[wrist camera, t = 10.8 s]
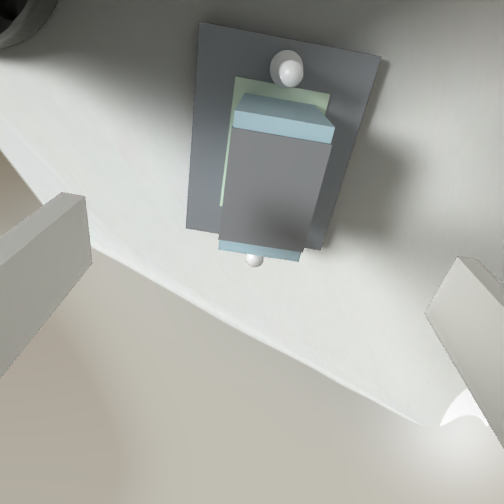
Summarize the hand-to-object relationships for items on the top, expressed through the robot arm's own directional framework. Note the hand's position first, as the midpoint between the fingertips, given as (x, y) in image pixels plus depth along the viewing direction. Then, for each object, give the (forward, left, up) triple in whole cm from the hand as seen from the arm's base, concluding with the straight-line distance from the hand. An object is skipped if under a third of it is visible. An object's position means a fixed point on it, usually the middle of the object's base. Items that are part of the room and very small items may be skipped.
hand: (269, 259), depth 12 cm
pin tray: (0, 0, -17) cm, 17 cm away
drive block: (0, 0, -15) cm, 15 cm away
